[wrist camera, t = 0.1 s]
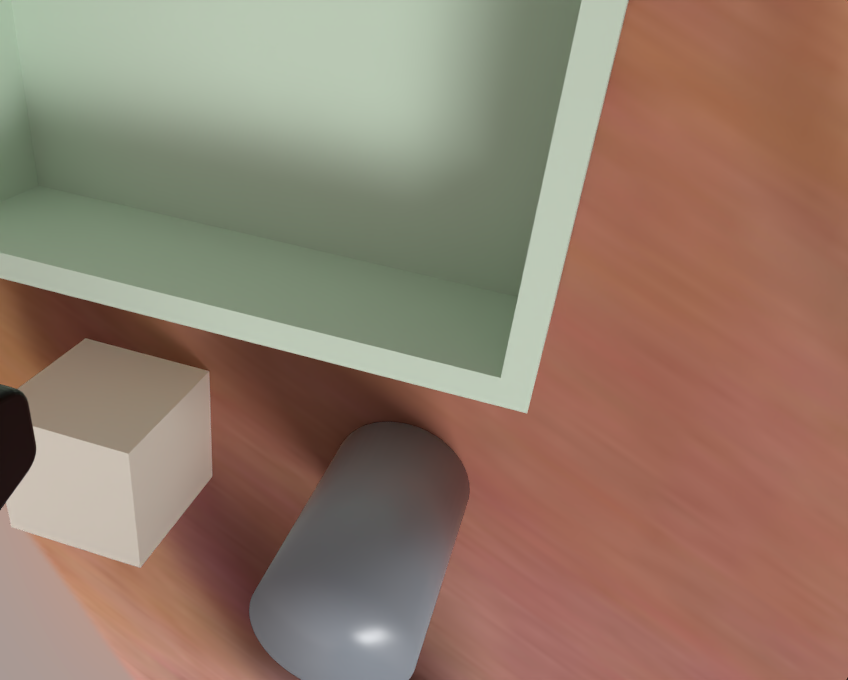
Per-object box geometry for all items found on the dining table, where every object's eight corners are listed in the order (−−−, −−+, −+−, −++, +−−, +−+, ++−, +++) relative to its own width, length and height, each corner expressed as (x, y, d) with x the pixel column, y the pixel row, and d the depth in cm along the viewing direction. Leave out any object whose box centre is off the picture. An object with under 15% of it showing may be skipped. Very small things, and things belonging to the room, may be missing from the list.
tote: (550, 319, 22) (527, 413, 18) (33, 198, 25) (-92, 254, 21) (690, -255, 15) (705, -320, 11) (-49, -335, 18) (-262, -412, 14)
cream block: (213, 475, 29) (140, 567, 25) (100, 442, 30) (11, 526, 26) (210, 369, 27) (128, 453, 23) (87, 337, 28) (-15, 412, 23)
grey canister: (458, 547, 28) (406, 717, 22) (331, 511, 29) (248, 665, 23) (480, 443, 25) (427, 603, 19) (340, 405, 26) (249, 548, 20)
